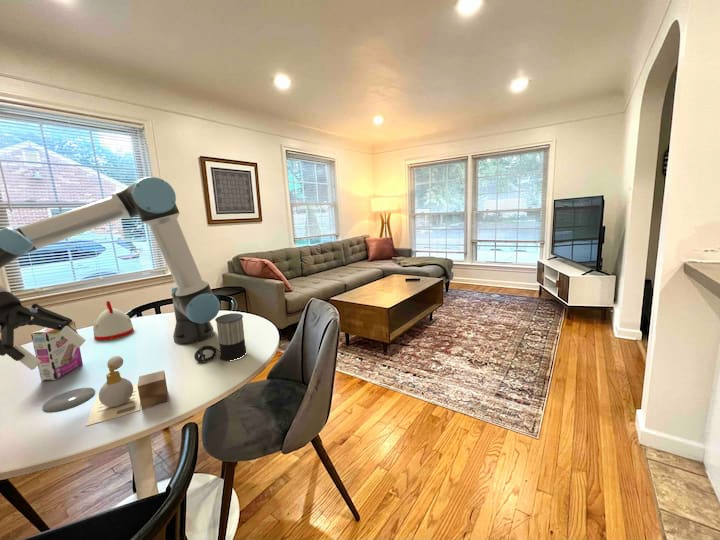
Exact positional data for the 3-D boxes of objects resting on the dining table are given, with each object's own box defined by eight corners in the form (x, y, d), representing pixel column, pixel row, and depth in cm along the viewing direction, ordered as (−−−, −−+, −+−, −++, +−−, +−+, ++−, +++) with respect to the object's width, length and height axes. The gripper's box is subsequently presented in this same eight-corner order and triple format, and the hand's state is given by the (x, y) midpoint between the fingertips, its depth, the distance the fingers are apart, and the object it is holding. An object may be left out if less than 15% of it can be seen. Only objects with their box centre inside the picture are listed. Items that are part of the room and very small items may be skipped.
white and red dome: (130, 326, 149) (124, 295, 146) (136, 333, 139) (130, 300, 136) (92, 335, 139) (85, 302, 136) (96, 343, 129) (89, 308, 127)
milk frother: (251, 355, 113) (247, 316, 110) (207, 372, 102) (201, 329, 99) (234, 344, 123) (229, 308, 120) (191, 359, 112) (185, 320, 109)
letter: (143, 383, 96) (143, 383, 96) (139, 410, 83) (139, 409, 83) (97, 395, 91) (97, 394, 91) (85, 426, 77) (85, 425, 77)
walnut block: (167, 392, 91) (164, 370, 90) (168, 402, 86) (164, 379, 85) (143, 399, 88) (139, 376, 87) (141, 410, 83) (137, 386, 82)
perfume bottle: (105, 415, 81) (96, 373, 79) (96, 402, 87) (87, 362, 85) (138, 401, 87) (131, 361, 84) (128, 390, 93) (121, 352, 90)
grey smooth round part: (98, 384, 96) (97, 383, 96) (90, 402, 87) (90, 401, 87) (49, 396, 91) (49, 395, 91) (36, 417, 82) (36, 415, 82)
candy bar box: (57, 380, 100) (46, 332, 97) (40, 381, 100) (28, 333, 97) (84, 363, 111) (75, 320, 108) (69, 365, 111) (59, 321, 108)
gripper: (30, 298, 93) (89, 345, 96) (-83, 327, 69) (2, 388, 72) (45, 281, 93) (105, 328, 96) (-62, 303, 68) (22, 365, 71)
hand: (61, 354), depth 84 cm, fingers open, 13 cm apart
